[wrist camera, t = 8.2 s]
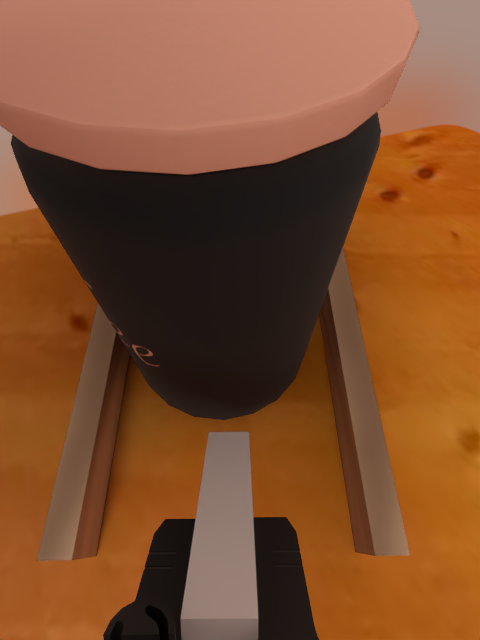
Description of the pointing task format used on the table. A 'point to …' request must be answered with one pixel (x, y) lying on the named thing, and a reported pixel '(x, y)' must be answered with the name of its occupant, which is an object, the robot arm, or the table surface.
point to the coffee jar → (202, 169)
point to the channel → (350, 414)
